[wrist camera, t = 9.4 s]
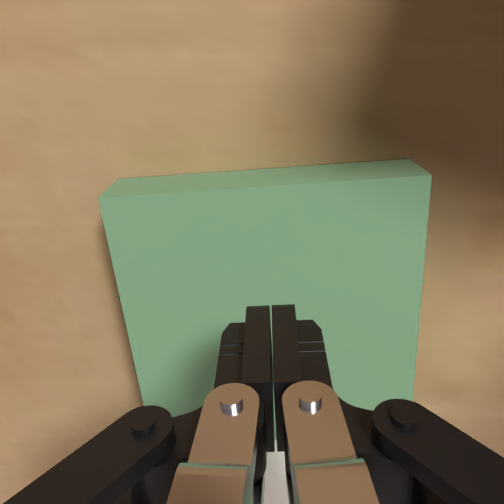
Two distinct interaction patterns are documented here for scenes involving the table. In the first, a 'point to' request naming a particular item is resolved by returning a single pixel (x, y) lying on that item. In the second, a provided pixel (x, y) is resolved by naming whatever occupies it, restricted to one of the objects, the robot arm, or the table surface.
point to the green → (272, 270)
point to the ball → (275, 478)
